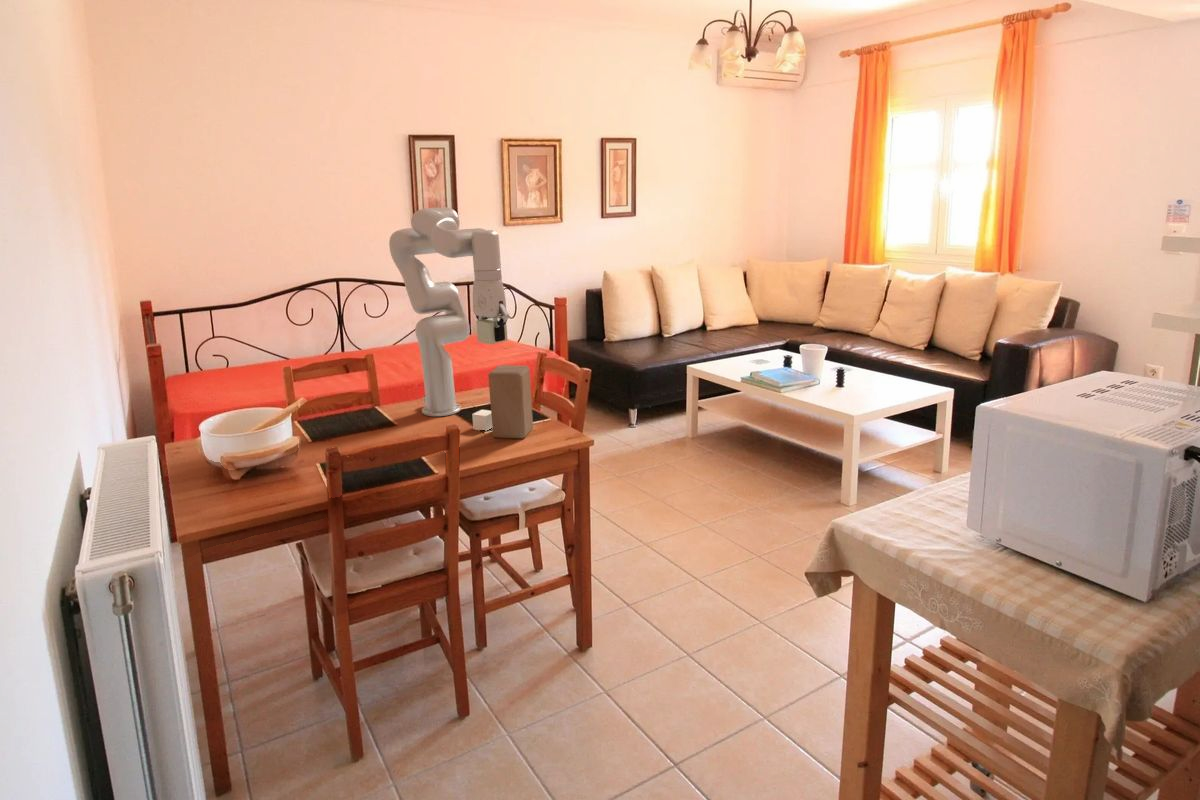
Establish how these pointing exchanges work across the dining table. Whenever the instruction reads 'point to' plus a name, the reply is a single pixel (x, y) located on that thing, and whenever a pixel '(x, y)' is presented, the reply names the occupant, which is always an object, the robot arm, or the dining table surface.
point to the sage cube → (488, 331)
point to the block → (510, 401)
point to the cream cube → (482, 420)
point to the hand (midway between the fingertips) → (492, 338)
